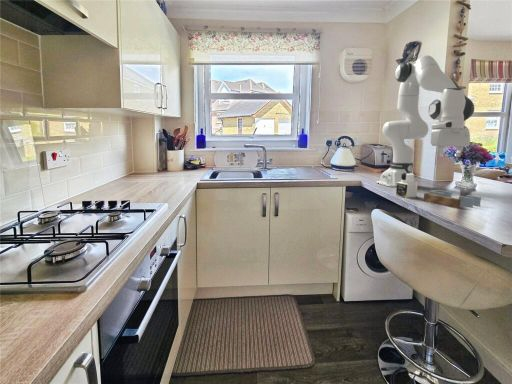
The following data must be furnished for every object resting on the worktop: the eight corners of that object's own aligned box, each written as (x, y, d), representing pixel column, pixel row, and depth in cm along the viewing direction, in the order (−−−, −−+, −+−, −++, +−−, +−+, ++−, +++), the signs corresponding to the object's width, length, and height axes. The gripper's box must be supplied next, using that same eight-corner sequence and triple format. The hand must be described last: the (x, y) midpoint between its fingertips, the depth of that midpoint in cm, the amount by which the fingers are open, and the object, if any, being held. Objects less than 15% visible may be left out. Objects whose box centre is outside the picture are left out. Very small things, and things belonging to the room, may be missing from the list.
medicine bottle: (395, 195, 175) (397, 172, 173) (406, 194, 178) (408, 172, 175) (406, 198, 169) (408, 174, 166) (416, 197, 171) (419, 173, 169)
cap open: (458, 204, 154) (459, 196, 153) (466, 203, 156) (467, 195, 156) (471, 207, 148) (472, 198, 148) (480, 206, 151) (481, 197, 150)
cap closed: (428, 198, 167) (429, 190, 166) (436, 197, 170) (437, 189, 169) (442, 201, 160) (443, 193, 160) (450, 200, 163) (451, 192, 163)
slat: (423, 201, 162) (424, 193, 161) (427, 201, 163) (428, 193, 162) (455, 208, 147) (456, 199, 147) (459, 208, 149) (460, 199, 148)
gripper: (461, 126, 153) (459, 157, 154) (428, 124, 146) (427, 156, 147) (475, 125, 147) (473, 157, 149) (441, 123, 140) (439, 156, 141)
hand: (449, 156), depth 148 cm, fingers open, 8 cm apart
